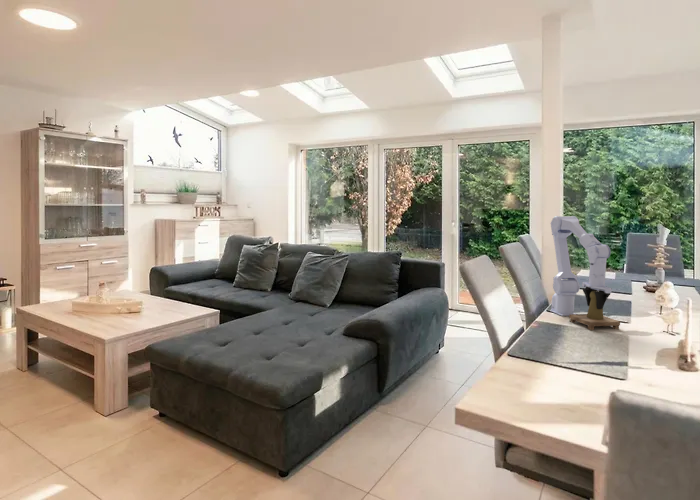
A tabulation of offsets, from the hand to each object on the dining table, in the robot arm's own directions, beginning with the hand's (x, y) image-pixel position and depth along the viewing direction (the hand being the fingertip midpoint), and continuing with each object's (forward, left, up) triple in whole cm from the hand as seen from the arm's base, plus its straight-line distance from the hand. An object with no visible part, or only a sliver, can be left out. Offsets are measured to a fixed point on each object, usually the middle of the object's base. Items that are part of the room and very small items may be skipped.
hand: (594, 307), depth 182 cm
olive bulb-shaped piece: (0, 0, -4) cm, 5 cm away
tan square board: (0, 0, -7) cm, 7 cm away
